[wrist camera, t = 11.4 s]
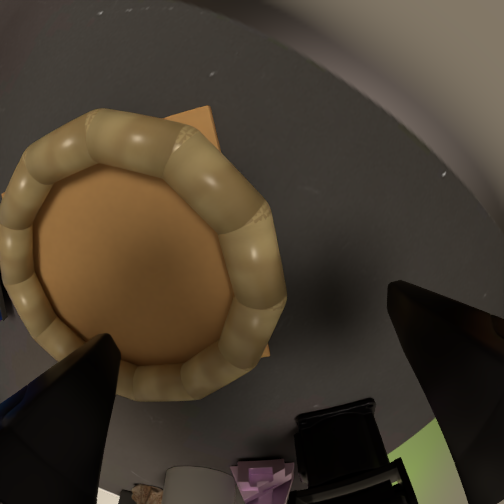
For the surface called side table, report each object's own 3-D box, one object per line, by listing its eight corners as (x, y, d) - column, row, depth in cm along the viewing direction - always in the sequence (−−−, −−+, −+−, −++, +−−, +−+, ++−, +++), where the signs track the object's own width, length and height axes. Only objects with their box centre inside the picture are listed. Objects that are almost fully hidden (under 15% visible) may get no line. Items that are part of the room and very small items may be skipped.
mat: (210, 106, 12) (208, 104, 11) (269, 349, 17) (270, 356, 17) (6, 192, 13) (0, 194, 12) (87, 366, 18) (84, 371, 18)
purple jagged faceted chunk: (225, 457, 23) (223, 507, 18) (294, 453, 23) (300, 503, 18) (236, 482, 26) (236, 522, 21) (293, 478, 26) (297, 519, 21)
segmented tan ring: (238, 68, 11) (236, 54, 8) (299, 365, 17) (305, 393, 15) (-12, 180, 12) (-37, 189, 10) (84, 382, 18) (73, 404, 16)
